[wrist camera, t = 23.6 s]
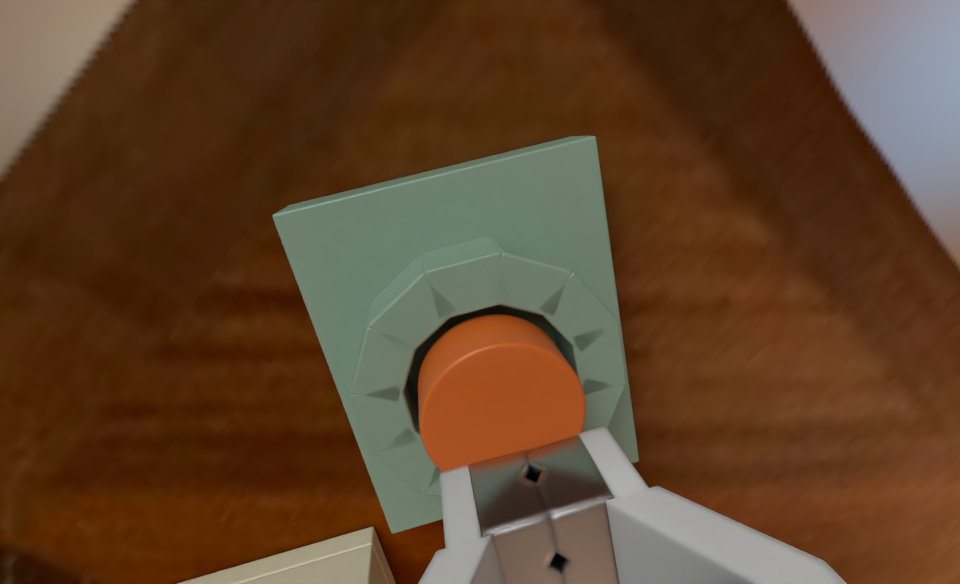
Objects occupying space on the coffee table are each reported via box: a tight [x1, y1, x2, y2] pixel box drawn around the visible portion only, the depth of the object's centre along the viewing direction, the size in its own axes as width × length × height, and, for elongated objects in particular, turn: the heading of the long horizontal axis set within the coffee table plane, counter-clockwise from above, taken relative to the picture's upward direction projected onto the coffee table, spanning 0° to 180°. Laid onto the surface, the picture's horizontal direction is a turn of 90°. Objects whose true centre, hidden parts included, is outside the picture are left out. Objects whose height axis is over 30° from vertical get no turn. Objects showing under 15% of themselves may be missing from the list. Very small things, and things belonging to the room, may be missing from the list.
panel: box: [273, 136, 639, 534], centre depth 13 cm, size 10×8×4 cm
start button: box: [418, 314, 586, 472], centre depth 11 cm, size 4×4×2 cm
